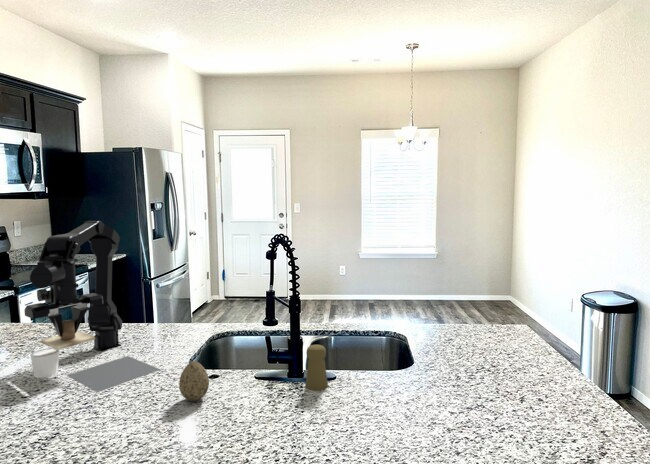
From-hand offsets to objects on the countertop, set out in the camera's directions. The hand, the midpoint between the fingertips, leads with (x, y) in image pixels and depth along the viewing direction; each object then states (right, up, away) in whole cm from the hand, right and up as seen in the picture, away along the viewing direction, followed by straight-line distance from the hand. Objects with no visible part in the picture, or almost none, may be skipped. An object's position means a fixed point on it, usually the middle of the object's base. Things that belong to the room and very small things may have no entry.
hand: (67, 334), depth 124 cm
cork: (+71, -12, -8) cm, 72 cm away
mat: (+13, -12, +1) cm, 17 cm away
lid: (0, -2, 0) cm, 2 cm away
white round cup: (-7, -12, +1) cm, 14 cm away
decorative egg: (+40, -13, -15) cm, 45 cm away
